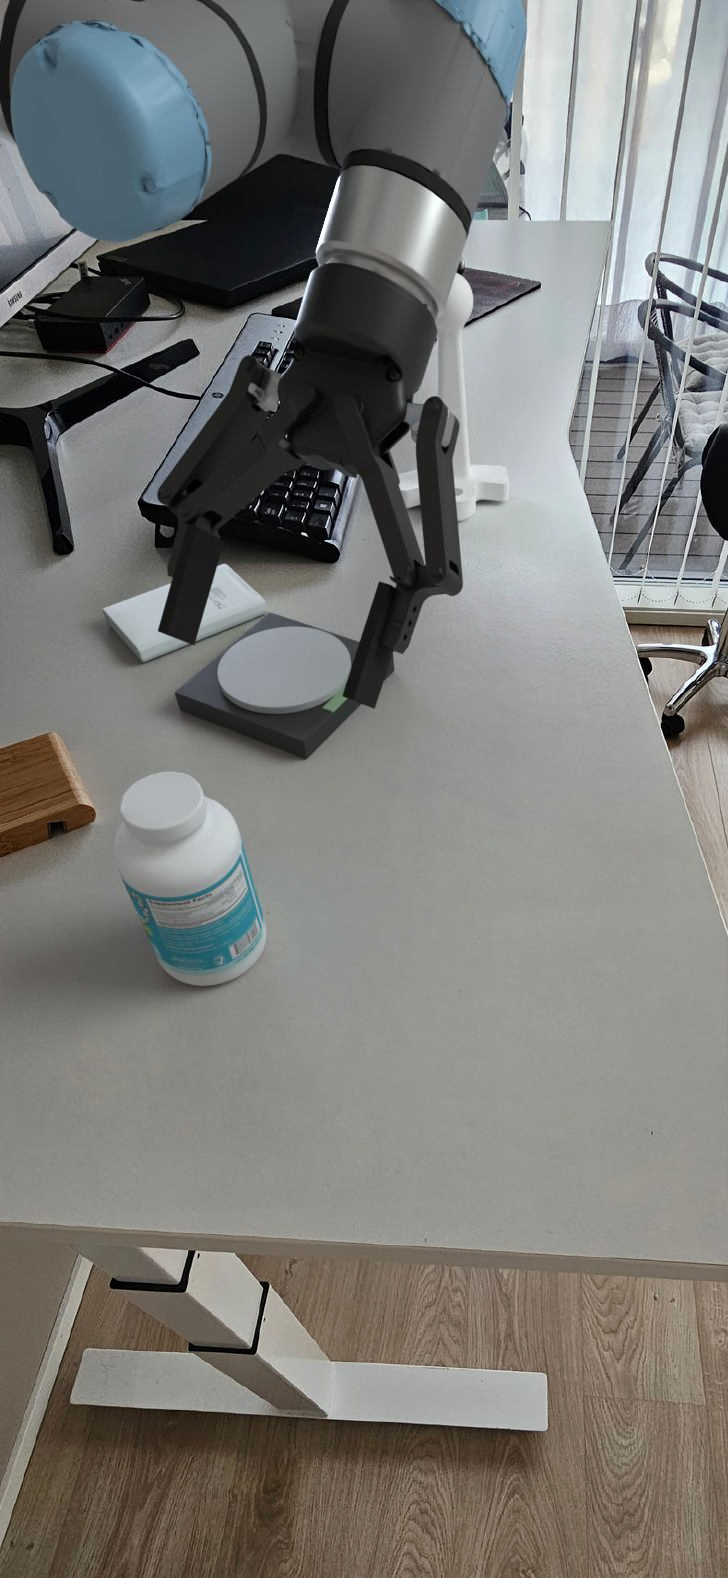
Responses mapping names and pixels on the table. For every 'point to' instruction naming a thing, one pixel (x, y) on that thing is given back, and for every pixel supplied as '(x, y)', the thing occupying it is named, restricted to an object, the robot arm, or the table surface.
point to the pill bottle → (189, 880)
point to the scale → (277, 685)
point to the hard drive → (223, 611)
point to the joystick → (458, 413)
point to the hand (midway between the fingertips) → (263, 670)
